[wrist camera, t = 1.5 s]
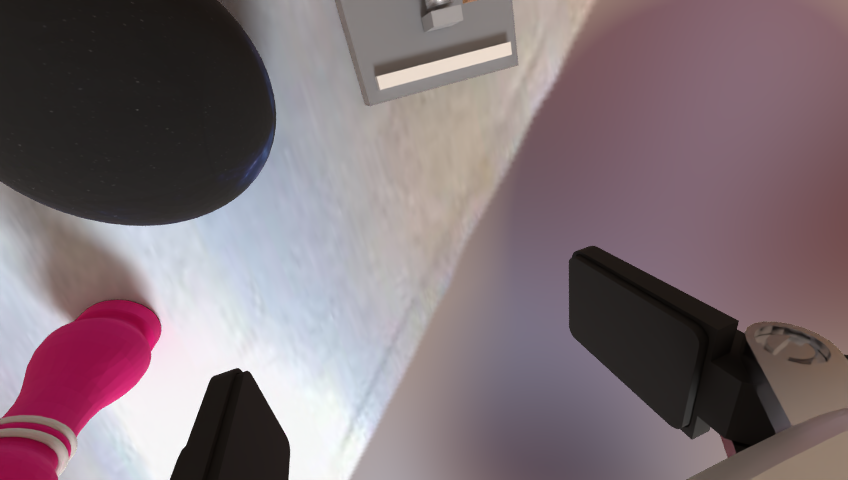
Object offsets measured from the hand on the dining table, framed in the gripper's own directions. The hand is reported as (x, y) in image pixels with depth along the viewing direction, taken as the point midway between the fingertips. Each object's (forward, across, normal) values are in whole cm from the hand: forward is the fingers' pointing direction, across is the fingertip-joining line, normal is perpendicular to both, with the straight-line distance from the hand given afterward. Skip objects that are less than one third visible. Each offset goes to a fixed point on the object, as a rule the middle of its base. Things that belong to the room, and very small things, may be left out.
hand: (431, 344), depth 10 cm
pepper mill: (+26, +24, +9) cm, 37 cm away
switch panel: (+26, -10, -13) cm, 31 cm away
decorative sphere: (+26, +11, -9) cm, 30 cm away
